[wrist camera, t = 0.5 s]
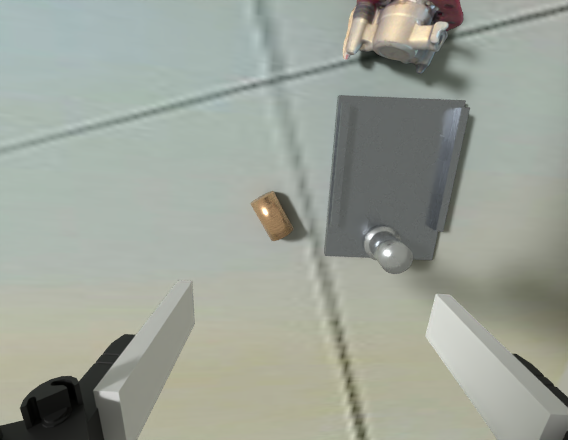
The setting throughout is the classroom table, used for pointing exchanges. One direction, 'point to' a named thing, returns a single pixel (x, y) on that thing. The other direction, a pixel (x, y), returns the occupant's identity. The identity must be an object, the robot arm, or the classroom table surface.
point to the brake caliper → (402, 29)
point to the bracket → (392, 177)
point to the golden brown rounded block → (272, 216)
